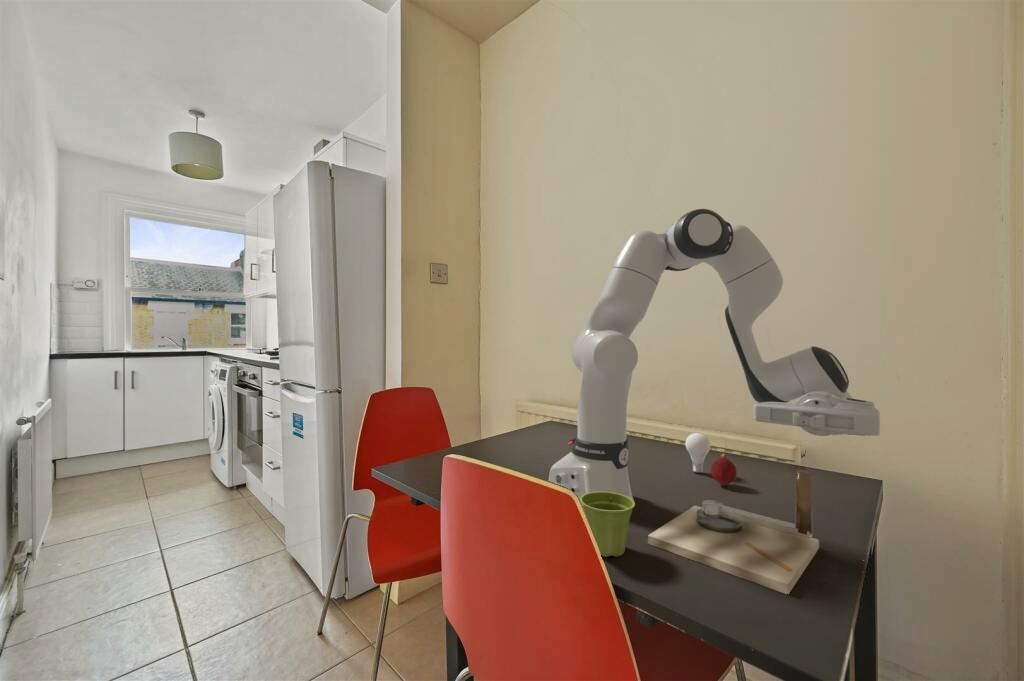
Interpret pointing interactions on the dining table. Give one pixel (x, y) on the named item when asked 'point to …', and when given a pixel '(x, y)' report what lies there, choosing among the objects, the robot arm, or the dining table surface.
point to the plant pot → (608, 520)
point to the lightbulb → (697, 450)
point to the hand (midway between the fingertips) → (803, 422)
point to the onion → (723, 470)
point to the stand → (739, 550)
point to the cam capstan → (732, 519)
